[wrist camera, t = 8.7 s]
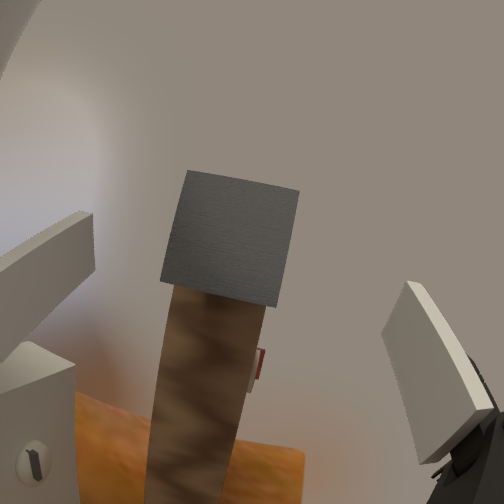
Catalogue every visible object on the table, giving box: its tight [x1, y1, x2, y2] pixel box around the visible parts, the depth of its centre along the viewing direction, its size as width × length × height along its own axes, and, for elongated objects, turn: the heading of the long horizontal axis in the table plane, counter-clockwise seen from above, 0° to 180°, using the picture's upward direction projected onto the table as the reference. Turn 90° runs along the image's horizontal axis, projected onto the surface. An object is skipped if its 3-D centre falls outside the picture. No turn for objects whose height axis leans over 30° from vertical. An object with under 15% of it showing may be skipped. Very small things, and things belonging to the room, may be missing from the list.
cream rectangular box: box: [0, 341, 81, 504], centre depth 10 cm, size 6×12×22 cm, turn 179°
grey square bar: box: [160, 170, 299, 308], centre depth 22 cm, size 4×24×4 cm, turn 179°
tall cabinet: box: [144, 285, 266, 504], centre depth 24 cm, size 7×14×30 cm, turn 179°
